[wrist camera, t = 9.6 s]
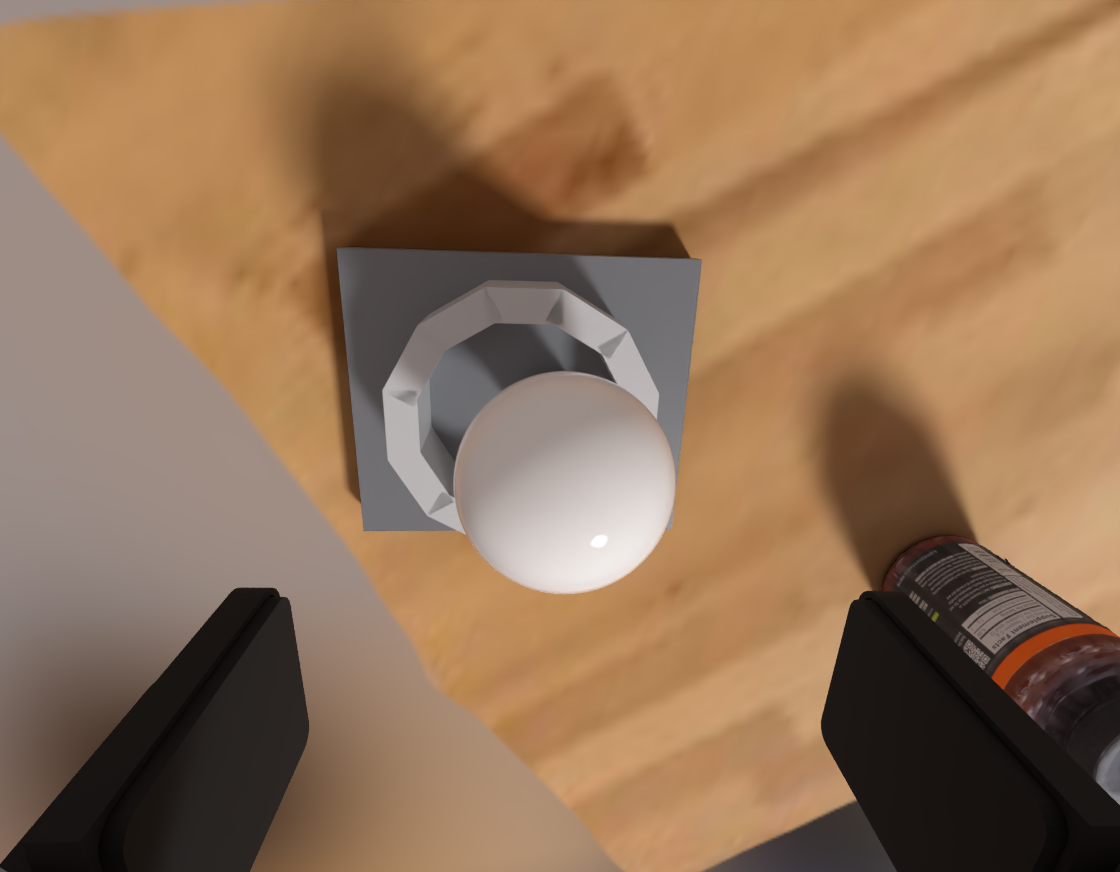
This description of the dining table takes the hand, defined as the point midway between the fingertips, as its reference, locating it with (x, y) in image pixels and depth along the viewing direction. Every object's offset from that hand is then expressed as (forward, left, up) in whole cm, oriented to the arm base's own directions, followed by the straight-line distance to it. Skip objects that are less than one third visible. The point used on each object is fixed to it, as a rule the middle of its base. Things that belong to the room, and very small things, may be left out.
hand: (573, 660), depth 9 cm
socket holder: (+1, 0, -17) cm, 17 cm away
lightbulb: (0, 0, -15) cm, 15 cm away
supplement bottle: (-21, +10, -17) cm, 29 cm away
